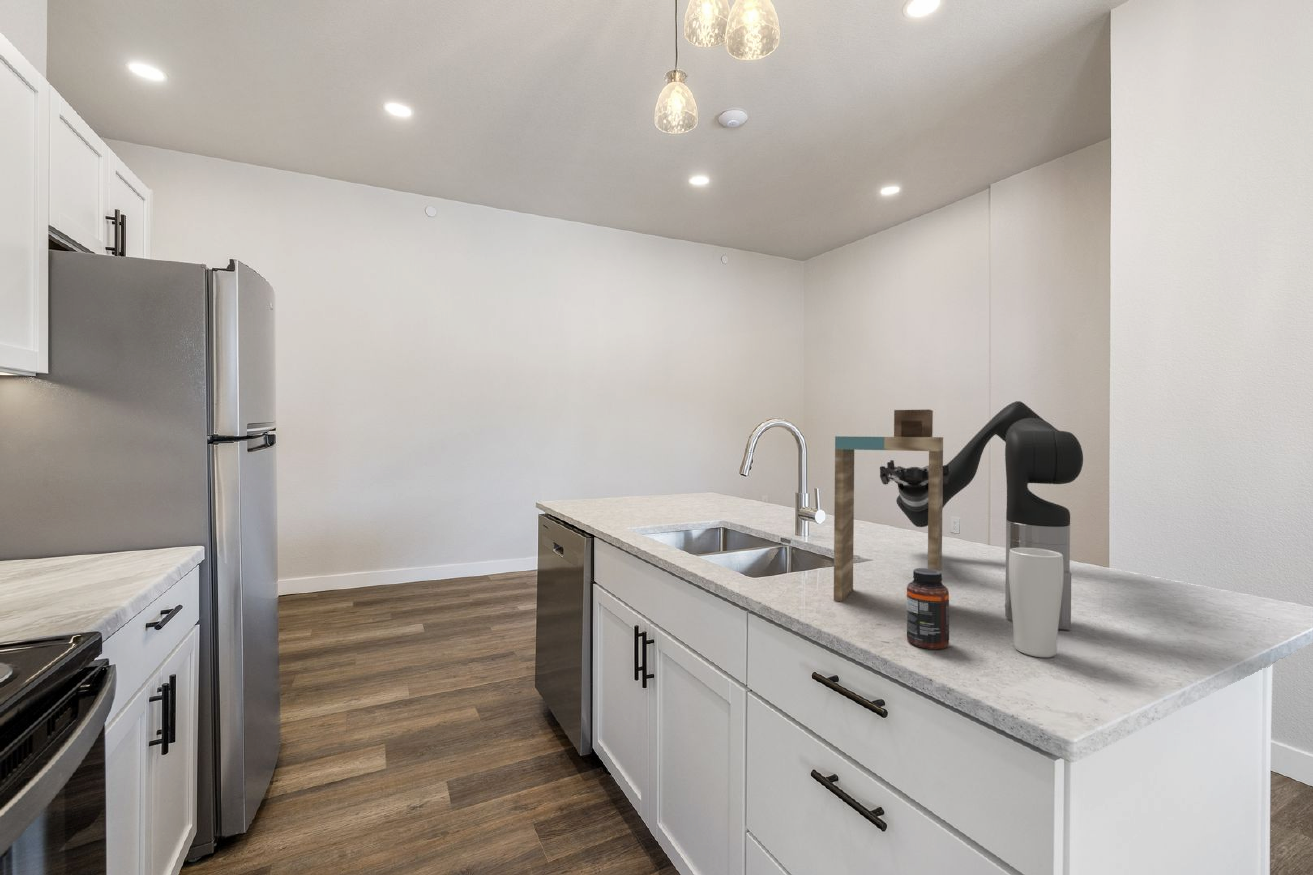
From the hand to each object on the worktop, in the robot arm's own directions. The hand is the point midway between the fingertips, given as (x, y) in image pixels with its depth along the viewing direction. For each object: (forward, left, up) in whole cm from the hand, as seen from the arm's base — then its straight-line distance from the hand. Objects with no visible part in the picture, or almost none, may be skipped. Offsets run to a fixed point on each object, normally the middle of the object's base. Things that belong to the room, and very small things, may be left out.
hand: (912, 463), depth 122 cm
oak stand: (+2, +18, -26) cm, 32 cm away
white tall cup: (-21, +33, -26) cm, 47 cm away
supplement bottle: (-7, +38, -26) cm, 47 cm away
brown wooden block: (-2, +13, +6) cm, 15 cm away
